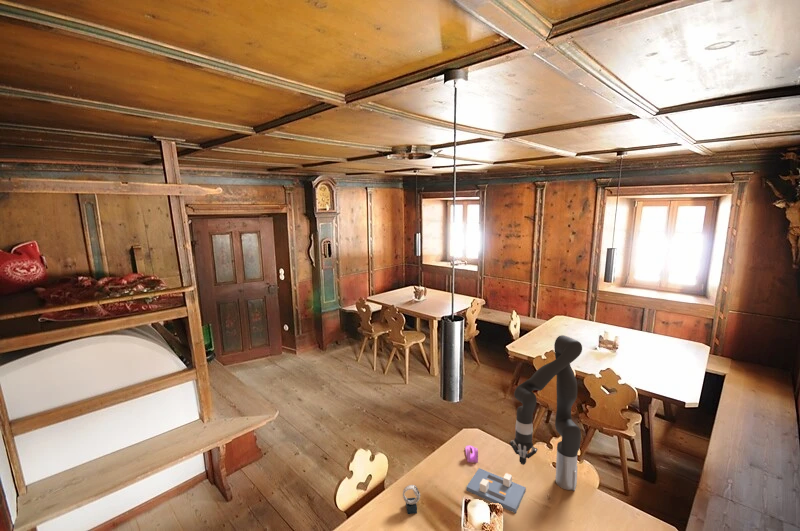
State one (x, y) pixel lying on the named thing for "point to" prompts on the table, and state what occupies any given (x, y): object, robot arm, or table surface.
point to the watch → (411, 499)
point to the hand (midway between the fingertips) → (522, 463)
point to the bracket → (473, 456)
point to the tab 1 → (484, 485)
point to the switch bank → (497, 490)
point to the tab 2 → (507, 480)
